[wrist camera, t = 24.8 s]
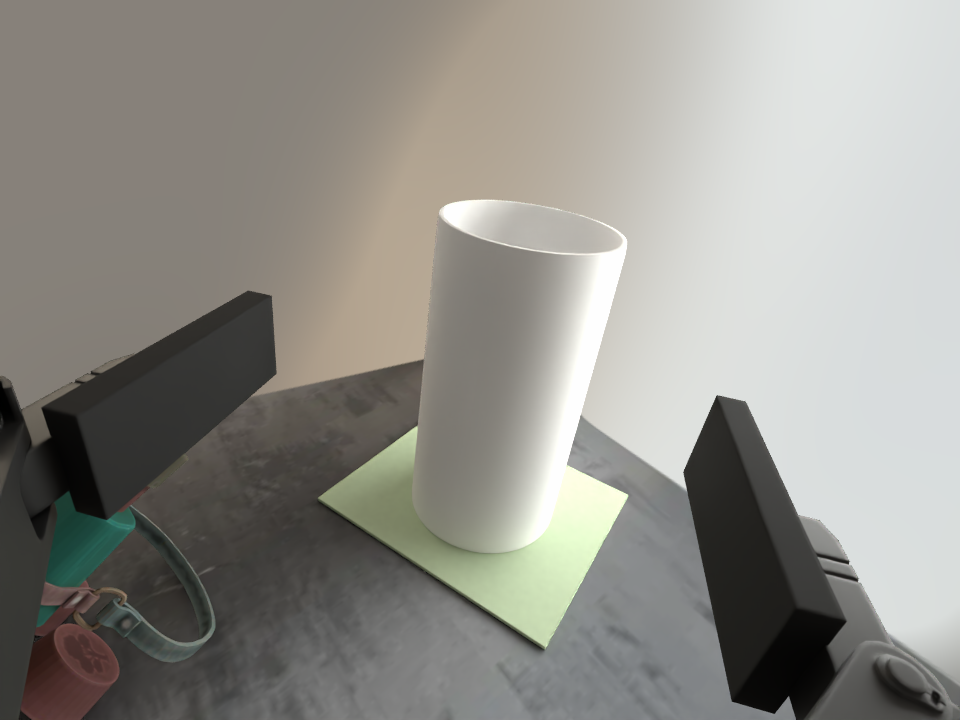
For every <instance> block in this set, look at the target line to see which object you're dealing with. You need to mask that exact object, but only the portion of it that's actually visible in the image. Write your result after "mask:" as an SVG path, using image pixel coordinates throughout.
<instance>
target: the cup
mask: <svg viewBox="0 0 960 720" xmlns="http://www.w3.org/2000/svg"><path fill="white" fill-rule="evenodd" d="M626 247H627V240H626V238H625V237H624V236H623V235H622V234H621V233H620V232H619V231H617V230H616V229H614V228H612V227H610V226H608V225H606V224H604V223H602V222H599V221H596V220H594V219H591V218H589V217H586V216H582V215H579V214H576V213H572V212H568V211H564V210H560V209H556V208H551V207H546V206H541V205H535V204H528V203H522V202H513V201H501V200H467V201H458V202H453V203H450V204H448V205H445V206H443V207H442V208H441V209H440V211H439V216H438V221H437V231H436V241H435V251H434V261H433V272H432V283H431V293H430V303H429V314H428V325H427V336H426V346H425V357H424V367H423V378H422V388H421V399H420V409H419V420H418V431H417V441H416V452H415V462H414V473H413V484H412V502H413V506H414V509H415V511H416V514H417V515H418V517H419V519H420V520H421V521H422V523H423V524H424V525H425V526H426V527H427V529H429V530H430V531H431V532H432V533H433V534H434V535H436V536H437V537H438V538H440V539H442V540H443V541H445V542H447V543H449V544H451V545H453V546H456V547H458V548H461V549H464V550H468V551H472V552H478V553H489V554H490V553H505V552H511V551H514V550H518V549H521V548H523V547H525V546H527V545H529V544H531V543H533V542H534V541H536V540H537V539H538V538H539V537H540V536H541V535H542V534H543V533H544V532H545V530H546V529H547V527H548V525H549V523H550V520H551V517H552V514H553V510H554V507H555V503H556V499H557V496H558V492H559V489H560V485H561V482H562V478H563V475H564V471H565V467H566V464H567V460H568V457H569V453H570V450H571V446H572V442H573V439H574V435H575V432H576V428H577V425H578V421H579V418H580V414H581V410H582V407H583V403H584V399H585V396H586V392H587V389H588V385H589V382H590V378H591V375H592V371H593V367H594V364H595V360H596V357H597V353H598V350H599V346H600V343H601V339H602V336H603V332H604V328H605V325H606V321H607V318H608V314H609V311H610V307H611V303H612V300H613V296H614V292H615V289H616V285H617V282H618V278H619V275H620V271H621V267H622V264H623V260H624V256H625V253H626Z"/></svg>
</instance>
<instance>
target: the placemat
mask: <svg viewBox="0 0 960 720" xmlns="http://www.w3.org/2000/svg"><path fill="white" fill-rule="evenodd" d="M417 431H418V426H416V427H415V428H414V429H412V430H411V431H409V432H408V433H407V434H405V435H404V436H402V437H401V438H400V439H398V440H397V441H396V442H394V443H393V444H391V445H390V446H389V447H387V448H386V449H385V450H383V451H382V452H380V453H379V454H378V455H376V456H375V457H374V458H372V459H371V460H369V461H368V462H367V463H365V464H364V465H362V466H361V467H360V468H358V469H357V470H356V471H354V472H353V473H351V474H350V475H349V476H347V477H346V478H345V479H343V480H342V481H340V482H339V483H338V484H336V485H335V486H333V487H332V488H331V489H329V490H328V491H327V492H325V493H324V494H322V495H321V496H320V497H318V501H320V502H321V503H323V504H324V505H326V506H327V507H329V508H330V509H332V510H333V511H335V512H336V513H338V514H339V515H341V516H343V517H344V518H346V519H347V520H349V521H350V522H352V523H353V524H355V525H356V526H358V527H359V528H361V529H362V530H364V531H365V532H367V533H368V534H370V535H371V536H373V537H374V538H376V539H377V540H379V541H380V542H382V543H383V544H385V545H386V546H388V547H390V548H391V549H393V550H394V551H396V552H397V553H399V554H400V555H402V556H403V557H405V558H406V559H408V560H409V561H411V562H412V563H414V564H415V565H417V566H418V567H420V568H421V569H423V570H424V571H426V572H427V573H429V574H430V575H432V576H433V577H435V578H437V579H438V580H440V581H441V582H443V583H444V584H446V585H447V586H449V587H450V588H452V589H453V590H455V591H456V592H458V593H459V594H461V595H462V596H464V597H465V598H467V599H468V600H470V601H471V602H473V603H474V604H476V605H477V606H479V607H480V608H482V609H484V610H485V611H487V612H488V613H490V614H491V615H493V616H494V617H496V618H497V619H499V620H500V621H502V622H503V623H505V624H506V625H508V626H509V627H511V628H512V629H514V630H515V631H517V632H518V633H520V634H521V635H523V636H524V637H526V638H527V639H529V640H531V641H532V642H534V643H535V644H537V645H538V646H540V647H541V648H543V649H544V650H545V649H546V647H547V645H548V643H549V641H550V640H551V638H552V636H553V634H554V632H555V630H556V629H557V627H558V625H559V623H560V621H561V619H562V618H563V616H564V614H565V612H566V610H567V608H568V606H569V605H570V603H571V601H572V599H573V597H574V595H575V594H576V592H577V590H578V588H579V586H580V584H581V583H582V581H583V579H584V577H585V575H586V573H587V571H588V570H589V568H590V566H591V564H592V562H593V560H594V559H595V557H596V555H597V553H598V551H599V549H600V548H601V546H602V544H603V542H604V540H605V538H606V537H607V535H608V533H609V531H610V529H611V527H612V525H613V524H614V522H615V520H616V518H617V516H618V514H619V513H620V511H621V509H622V507H623V505H624V503H625V502H626V500H627V498H628V495H627V494H625V493H623V492H620V491H618V490H616V489H614V488H612V487H610V486H608V485H606V484H604V483H602V482H600V481H598V480H596V479H594V478H592V477H590V476H588V475H585V474H583V473H581V472H579V471H577V470H575V469H573V468H571V467H569V466H567V465H566V467H565V471H564V475H563V478H562V482H561V485H560V489H559V492H558V496H557V499H556V503H555V507H554V510H553V514H552V517H551V520H550V523H549V525H548V527H547V529H546V530H545V532H544V533H543V534H542V535H541V536H540V537H539V538H538V539H537V540H536V541H534V542H533V543H531V544H529V545H527V546H525V547H523V548H521V549H518V550H514V551H511V552H505V553H490V554H489V553H478V552H472V551H468V550H464V549H461V548H458V547H456V546H453V545H451V544H449V543H447V542H445V541H443V540H442V539H440V538H438V537H437V536H436V535H434V534H433V533H432V532H431V531H430V530H429V529H427V527H426V526H425V525H424V524H423V523H422V521H421V520H420V519H419V517H418V515H417V514H416V511H415V509H414V506H413V502H412V484H413V473H414V462H415V452H416V441H417Z"/></svg>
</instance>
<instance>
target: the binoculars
mask: <svg viewBox="0 0 960 720" xmlns="http://www.w3.org/2000/svg"><path fill="white" fill-rule="evenodd" d="M187 460H188V457H187V456H186V455H185V454H183V455H182V456H181V457H180V458H179V459H177V460H176V461H175V462H174V463H173V464H172V465H171V466H169V467H168V468H167V469H166V470H165V471H164V472H162V473H161V474H160V475H159V476H158V477H157V478H156V479H154V480H153V481H152V482H151V483H150V484H149V485H147V486H146V487H145V488H144V489H143V490H142V491H141V492H139V493H138V494H137V495H136V496H135V497H134V498H132V499H131V500H130V501H129V502H128V503H127V504H126V505H124V506H123V507H122V508H121V509H120V510H119V511H117V512H116V513H115V514H114V515H113V516H112V517H111V518H109V519H108V520H104V519H100V518H97V517H93V516H90V515H86V514H83V513H79V512H76V510H75V507H74V504H73V501H72V498H71V495H70V493H69V491H68V492H67V493H66V494H64V495H63V496H62V497H60V498H59V499H58V500H56V501H55V502H54V503H55V505H56V508H57V514H58V516H57V521H56V526H55V531H54V537H53V542H52V547H51V552H50V558H49V563H48V568H47V573H46V578H45V584H44V589H43V594H42V599H41V604H40V610H39V615H38V620H37V625H36V631H35V635H36V636H44V637H43V638H41V639H40V640H38V641H37V642H35V643H34V644H33V646H32V651H31V657H30V662H29V667H28V672H27V678H26V683H25V688H24V693H23V698H22V704H21V709H20V710H21V711H22V712H23V713H24V714H26V715H27V716H28V717H29V718H31V719H32V720H81V719H82V718H83V717H84V716H85V715H86V713H87V712H88V711H89V710H90V709H91V708H92V707H93V706H94V704H95V703H96V702H97V701H98V700H99V699H100V698H101V697H102V695H103V694H104V693H105V692H106V691H107V690H108V689H109V688H110V686H111V685H112V684H113V683H114V682H115V681H116V680H117V678H118V676H119V665H118V661H117V659H116V657H115V655H114V653H113V652H112V650H111V649H110V648H109V646H108V645H107V644H106V643H105V642H104V641H103V640H102V639H101V638H100V637H99V636H97V635H96V634H95V633H93V632H92V631H91V630H96V629H97V628H99V627H100V626H101V625H104V626H107V627H112V628H114V629H115V630H116V631H117V632H118V633H119V634H120V635H121V636H122V637H127V638H128V639H129V640H130V641H131V642H132V643H133V644H134V645H135V646H137V647H138V648H139V649H141V650H142V651H143V652H145V653H146V654H148V655H150V656H151V657H153V658H156V659H158V660H160V661H165V662H177V661H182V660H184V659H186V658H189V657H191V656H192V655H193V654H194V653H195V652H196V651H197V650H198V649H199V648H200V647H201V646H202V645H203V644H204V643H205V642H206V641H207V640H208V639H209V638H210V637H211V636H212V634H213V632H214V630H215V617H214V613H213V609H212V606H211V603H210V600H209V597H208V595H207V593H206V590H205V588H204V586H203V585H202V583H201V581H200V579H199V577H198V576H197V574H196V573H195V571H194V569H193V568H192V567H191V565H190V564H189V562H188V561H187V560H186V558H185V557H184V556H183V554H182V553H181V552H180V550H179V549H178V548H177V547H176V546H175V544H174V543H173V542H172V541H171V540H170V539H169V538H168V536H167V535H166V534H165V533H164V532H163V531H162V530H161V529H160V528H159V527H157V526H156V525H155V524H154V523H153V522H152V521H151V520H149V519H148V518H147V517H146V516H144V515H143V514H142V513H141V512H139V511H138V510H137V509H136V508H134V507H133V506H131V504H132V503H133V502H135V501H136V500H137V499H138V498H139V497H140V496H141V495H142V494H143V493H145V492H146V491H147V490H148V489H149V488H150V487H151V488H157V487H158V486H159V485H161V484H162V483H163V482H164V481H165V480H166V479H167V478H168V477H170V476H171V475H172V474H173V473H174V472H175V471H176V470H177V469H178V468H180V467H181V466H182V465H183V464H184V463H185V462H186V461H187ZM133 529H135V530H136V531H138V532H139V533H140V534H141V535H142V536H143V537H144V538H146V539H147V540H148V541H149V542H150V543H151V544H152V545H153V546H154V547H155V549H156V550H157V551H158V552H159V553H160V554H161V556H162V557H163V558H164V559H165V561H166V562H167V563H168V564H169V566H170V567H171V568H172V570H173V571H174V573H175V574H176V576H177V577H178V579H179V580H180V582H181V583H182V585H183V587H184V588H185V590H186V592H187V594H188V596H189V598H190V600H191V603H192V605H193V608H194V610H195V614H196V617H197V621H198V626H199V640H197V641H195V642H190V643H181V642H176V641H174V640H172V639H169V638H168V637H166V636H164V635H163V634H161V633H160V632H159V631H157V630H156V629H155V628H153V627H152V626H151V625H150V624H149V623H148V622H147V621H146V620H145V619H144V618H143V617H142V616H141V615H140V614H139V613H138V612H137V611H136V610H135V609H134V608H133V607H132V606H130V605H129V604H128V603H126V599H127V595H126V594H125V593H124V592H123V591H121V590H118V589H116V588H110V587H104V588H99V589H97V590H95V589H92V588H89V586H88V583H87V581H86V579H87V578H88V577H89V576H90V575H91V574H92V572H93V571H94V570H95V569H96V568H97V567H98V566H99V565H100V564H101V563H102V562H103V561H104V560H105V559H106V558H107V557H108V556H109V555H110V553H111V552H112V551H113V550H114V549H115V548H116V547H117V546H118V545H119V544H120V543H121V542H122V541H123V540H124V539H125V538H126V537H127V536H128V534H129V533H130V532H131V531H132V530H133ZM102 592H108V593H113V594H116V595H119V596H120V597H121V599H118V598H115V599H113V600H112V601H111V602H110V603H109V604H108V605H106V606H105V607H104V608H103V609H102V610H101V611H100V612H99V613H98V614H97V616H96V619H97V620H98V622H97V623H96V624H95V625H92V626H91V625H89V624H87V623H86V622H85V621H84V620H83V619H82V618H81V617H80V615H79V613H80V612H81V613H85V612H86V611H87V610H88V609H89V608H90V607H91V606H92V605H93V604H94V603H95V602H96V601H97V600H98V599H99V598H100V593H102ZM73 611H74V612H73ZM72 612H73V619H74V620H75V621H76V623H77V624H78V625H76V624H63V625H61V624H62V623H63V622H64V621H65V620H66V618H67V617H68V616H69V615H70V614H71V613H72ZM60 625H61V626H60Z"/></svg>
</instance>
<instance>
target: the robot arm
mask: <svg viewBox="0 0 960 720" xmlns="http://www.w3.org/2000/svg"><path fill="white" fill-rule="evenodd" d="M274 375H276V358H275V343H274V327H273V311H272V296H270V295H266V294H261V293H256V292H252V291H247V292H245V293H243V294H241V295H240V296H238V297H236V298H234V299H233V300H231V301H229V302H227V303H226V304H224V305H222V306H220V307H218V308H217V309H215V310H213V311H211V312H210V313H208V314H206V315H204V316H202V317H201V318H199V319H197V320H196V321H193V322H192V323H190V324H188V325H186V326H185V327H183V328H181V329H179V330H177V331H176V332H174V333H172V334H170V335H169V336H167V337H165V338H163V339H162V340H160V341H158V342H156V343H154V344H153V345H151V346H149V347H148V348H146V349H144V350H142V351H140V352H139V353H137V354H131V355H128V356H124V357H121V358H118V359H115V360H112V361H109V362H107V363H105V364H104V365H102V366H100V367H98V368H96V369H95V370H93V371H91V374H88V373H87V374H85V375H83V376H82V377H80V378H78V379H76V380H75V382H74V383H73V382H71V383H69V384H67V385H66V386H63V387H62V388H60V389H58V390H56V391H54V392H52V393H51V394H49V395H47V396H45V397H43V398H42V399H40V400H38V401H36V402H34V403H33V404H31V405H29V406H27V407H25V408H23V409H21V408H20V405H19V402H18V400H17V397H16V394H15V391H14V389H13V386H12V383H11V381H10V380H9V379H7V378H5V377H4V376H0V720H18V719H19V714H20V709H21V704H22V698H23V693H24V688H25V683H26V678H27V672H28V667H29V662H30V657H31V651H32V646H33V641H34V636H35V631H36V625H37V620H38V615H39V610H40V604H41V599H42V594H43V589H44V584H45V578H46V573H47V568H48V563H49V558H50V552H51V547H52V542H53V537H54V531H55V526H56V521H57V516H58V514H57V508H56V505H55V503H54V502H55V501H56V500H58V499H59V498H60V497H62V496H63V495H64V494H66V493H67V492H68V491H69V493H70V495H71V498H72V501H73V504H74V507H75V510H76V512H79V513H83V514H86V515H90V516H93V517H97V518H100V519H104V520H108V519H109V518H111V517H112V516H113V515H114V514H115V513H116V512H117V511H119V510H120V509H121V508H122V507H123V506H124V505H126V504H127V503H128V502H129V501H130V500H131V499H132V498H134V497H135V496H136V495H137V494H138V493H139V492H141V491H142V490H143V489H144V488H145V487H146V486H147V485H149V484H150V483H151V482H152V481H153V480H154V479H156V478H157V477H158V476H159V475H160V474H161V473H162V472H164V471H165V470H166V469H167V468H168V467H169V466H171V465H172V464H173V463H174V462H175V461H176V460H177V459H179V458H180V457H181V456H182V455H183V454H184V453H186V452H187V451H188V450H189V449H190V448H191V447H192V446H194V445H195V444H196V443H197V442H198V441H199V440H201V439H202V438H203V437H204V436H205V435H206V434H207V433H209V432H210V431H211V430H212V429H213V428H214V427H216V426H217V425H218V424H219V423H220V422H221V421H222V420H224V419H225V418H226V417H227V416H228V415H229V414H231V413H232V412H233V411H234V410H235V409H236V408H237V407H239V406H240V405H241V404H242V403H243V402H244V401H246V400H247V399H248V398H249V397H250V396H251V395H252V394H254V393H255V392H256V391H257V390H258V389H259V388H261V387H262V385H264V384H265V383H266V382H267V381H269V380H270V379H271V378H272V377H273V376H274ZM683 473H684V477H685V482H686V487H687V492H688V497H689V501H690V506H691V511H692V515H693V520H694V525H695V530H696V534H697V539H698V544H699V549H700V553H701V558H702V563H703V567H704V572H705V577H706V582H707V586H708V591H709V596H710V600H711V605H712V610H713V615H714V619H715V624H716V629H717V633H718V638H719V643H720V648H721V652H722V657H723V662H724V667H725V671H726V676H727V681H728V685H729V690H730V695H731V700H732V702H735V703H739V704H742V705H746V706H749V707H753V708H756V709H760V710H763V711H766V712H770V713H773V714H775V713H776V711H777V710H778V709H779V708H780V706H781V705H782V704H783V702H784V701H785V700H786V699H787V697H788V696H789V698H790V701H791V704H792V707H793V711H794V714H795V717H796V720H960V707H959V706H957V705H956V704H954V703H952V702H951V701H950V699H949V697H948V695H947V692H946V690H945V689H944V687H943V686H942V685H941V684H940V682H939V681H938V680H937V679H936V677H935V676H934V675H933V674H932V673H931V672H930V671H929V670H928V669H927V668H926V667H925V666H923V665H922V664H921V663H920V662H919V661H918V660H916V659H915V658H914V657H912V656H911V655H909V654H907V653H906V652H904V651H902V650H901V649H899V648H897V647H895V646H894V645H893V643H892V641H891V639H890V638H889V636H888V634H887V632H886V630H885V628H884V626H883V624H882V622H881V620H880V619H879V617H878V615H877V613H876V611H875V609H874V607H873V605H872V603H871V601H870V600H869V598H868V596H867V594H866V592H865V590H864V588H863V586H862V584H861V583H858V577H857V575H856V573H855V571H854V569H853V567H852V566H851V565H849V560H848V558H847V556H846V554H845V552H844V550H843V549H842V546H841V544H840V543H839V540H838V539H837V538H836V537H835V536H834V535H833V534H832V533H831V532H830V531H829V530H828V529H827V528H826V527H825V526H824V525H823V524H822V523H821V522H820V520H816V519H812V518H808V517H804V516H800V515H798V514H797V512H796V510H795V507H794V505H793V503H792V501H791V499H790V497H789V494H788V492H787V490H786V488H785V486H784V483H783V481H782V479H781V477H780V475H779V473H778V470H777V468H776V466H775V464H774V462H773V460H772V457H771V455H770V453H769V451H768V449H767V447H766V444H765V442H764V440H763V438H762V436H761V434H760V432H759V429H758V427H757V425H756V423H755V421H754V418H753V416H752V414H751V412H750V410H749V408H748V406H747V403H746V402H745V401H741V400H736V399H731V398H727V397H722V396H718V395H717V396H716V398H715V401H714V403H713V405H712V407H711V410H710V412H709V414H708V417H707V419H706V421H705V423H704V426H703V428H702V430H701V433H700V435H699V437H698V439H697V442H696V444H695V446H694V449H693V451H692V453H691V456H690V458H689V460H688V463H687V465H686V467H685V469H684V472H683Z"/></svg>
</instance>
